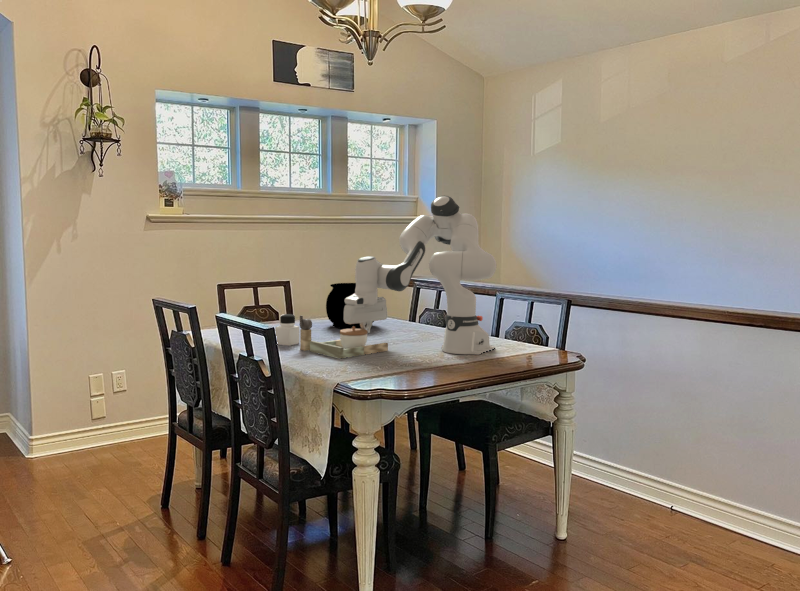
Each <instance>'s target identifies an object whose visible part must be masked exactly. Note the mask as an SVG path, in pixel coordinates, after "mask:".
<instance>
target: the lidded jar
mask: <svg viewBox="0 0 800 591" xmlns="http://www.w3.org/2000/svg"><path fill="white" fill-rule="evenodd" d="M368 334H369V333H368V331H367V330H365V329H355V326H352V329H340V330H339V340H340V341H341V344H342V346H343V349H348V348H354V347H361V346H367V341H368Z"/></svg>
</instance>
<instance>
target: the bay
mask: <svg viewBox="0 0 800 591" xmlns="http://www.w3.org/2000/svg"><path fill="white" fill-rule="evenodd" d="M387 351H389V343H388V342H381V343H375V344H366V345H365V346H361V347H354V348H348V349H345V348H344V347H343V346H342V344H341V341H340V339H335V340H328V341H321V342H320V341H316V340H311V341H310V350H309V352H310V353H314V354H318V353H319V354H320V355H322V354H323V355H322V356H326V355H327V357H332V358H335V359H339V358H342V359H347V358H346V357H348V358H353V357H352V356H354V357H359V355H360V356H364V355H365V354H366V355H370V354H371V353H372V354H377V352H378V353H382V352H387ZM319 354H318V355H319ZM366 355H365V356H366Z"/></svg>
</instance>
